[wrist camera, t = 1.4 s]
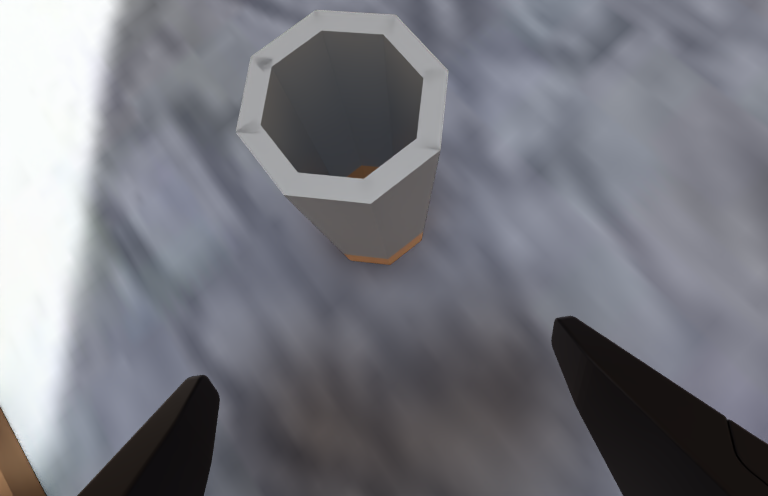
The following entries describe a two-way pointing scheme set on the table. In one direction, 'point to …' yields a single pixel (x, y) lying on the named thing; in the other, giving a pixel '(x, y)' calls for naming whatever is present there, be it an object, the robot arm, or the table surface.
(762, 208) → the table surface
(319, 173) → the sleeve
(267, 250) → the table surface
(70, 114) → the table surface
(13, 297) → the table surface
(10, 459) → the pin board
